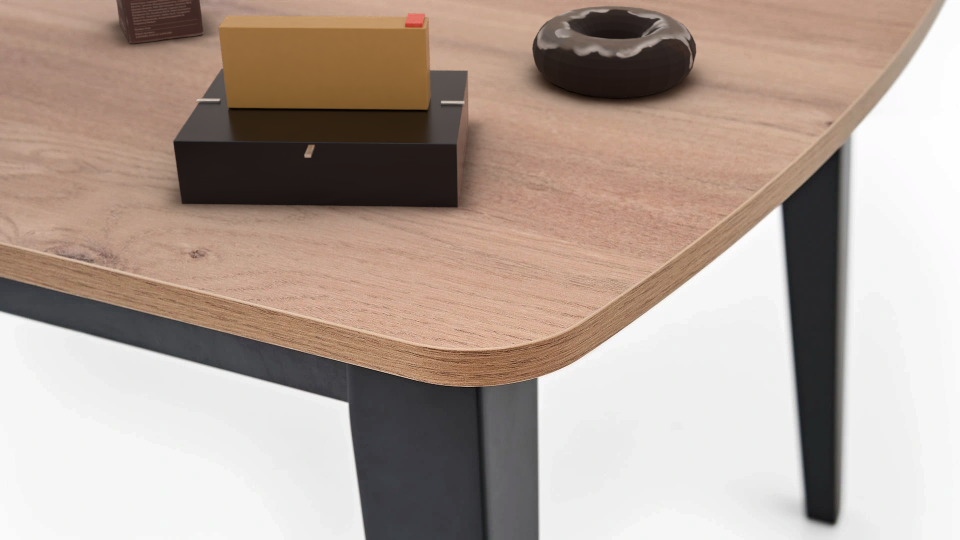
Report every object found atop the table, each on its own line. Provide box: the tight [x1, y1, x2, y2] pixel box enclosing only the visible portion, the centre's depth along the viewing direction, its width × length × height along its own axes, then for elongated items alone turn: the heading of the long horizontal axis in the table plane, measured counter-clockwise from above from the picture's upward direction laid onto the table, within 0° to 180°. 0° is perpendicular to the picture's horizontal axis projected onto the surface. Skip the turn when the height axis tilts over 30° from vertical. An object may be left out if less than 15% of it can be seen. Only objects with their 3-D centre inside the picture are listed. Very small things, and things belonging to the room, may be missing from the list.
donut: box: [531, 5, 697, 99], centre depth 87 cm, size 12×12×4 cm
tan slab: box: [218, 12, 431, 110], centre depth 72 cm, size 12×2×5 cm, turn 88°
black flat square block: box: [172, 68, 469, 208], centre depth 74 cm, size 16×16×4 cm
